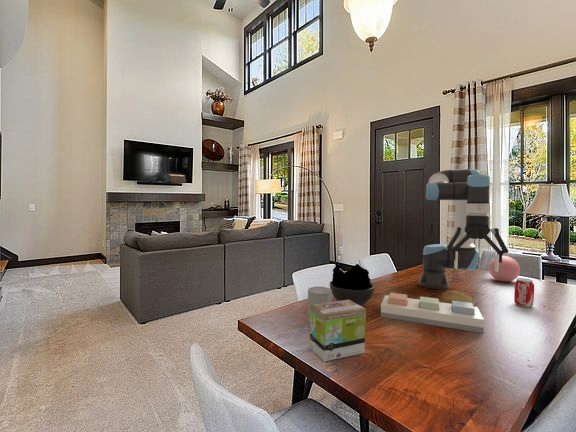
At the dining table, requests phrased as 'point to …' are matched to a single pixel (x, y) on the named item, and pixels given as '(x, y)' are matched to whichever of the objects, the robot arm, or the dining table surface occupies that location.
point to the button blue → (463, 307)
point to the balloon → (505, 269)
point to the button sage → (429, 303)
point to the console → (433, 315)
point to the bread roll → (457, 297)
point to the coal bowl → (352, 285)
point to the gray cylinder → (318, 297)
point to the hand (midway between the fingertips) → (475, 269)
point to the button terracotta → (397, 299)
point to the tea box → (337, 329)
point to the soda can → (524, 292)
